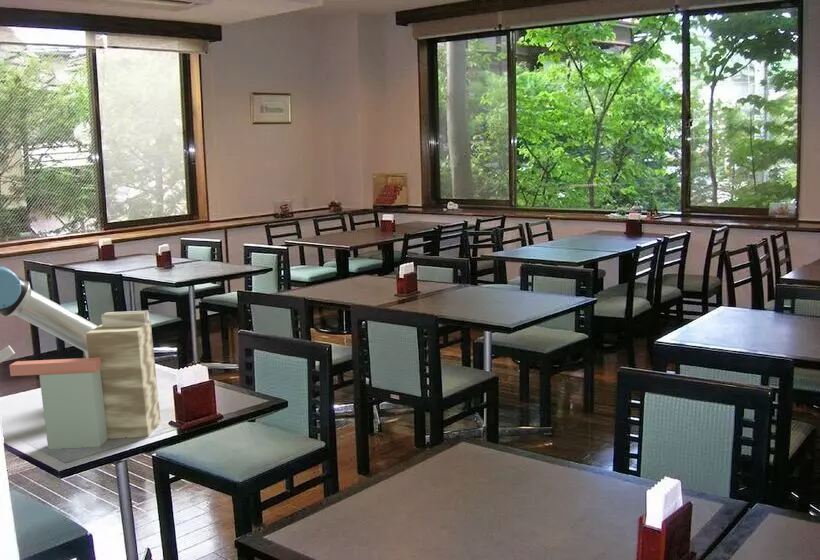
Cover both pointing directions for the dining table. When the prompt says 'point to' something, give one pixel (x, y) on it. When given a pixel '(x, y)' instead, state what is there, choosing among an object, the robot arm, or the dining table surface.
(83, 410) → the block
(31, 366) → the stub
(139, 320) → the tall wood-grain block
